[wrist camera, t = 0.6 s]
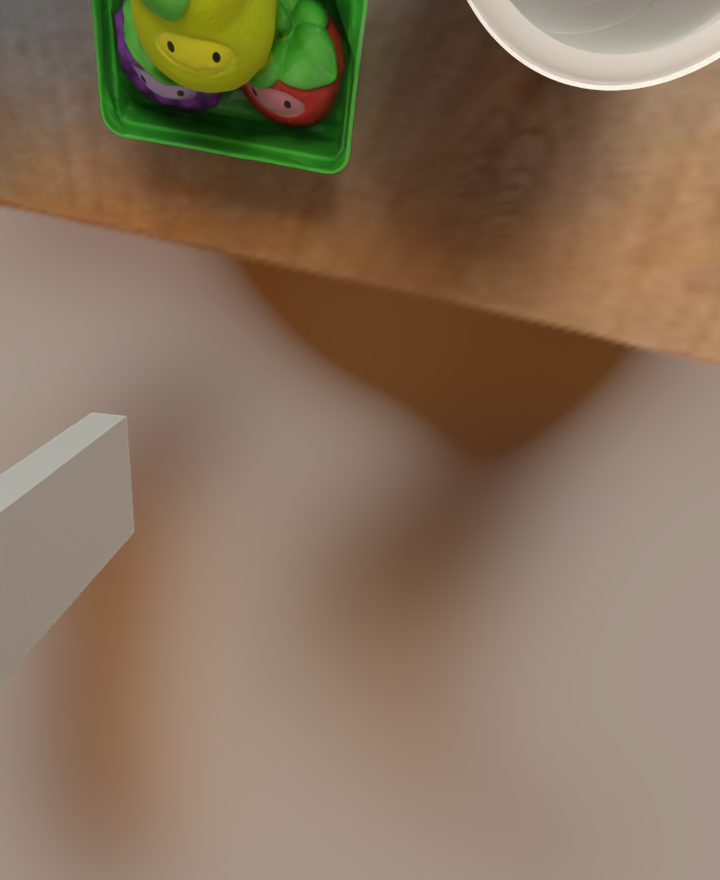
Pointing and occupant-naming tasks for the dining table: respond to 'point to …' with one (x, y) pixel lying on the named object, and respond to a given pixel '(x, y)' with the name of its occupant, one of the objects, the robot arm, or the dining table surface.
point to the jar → (606, 38)
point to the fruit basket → (233, 76)
